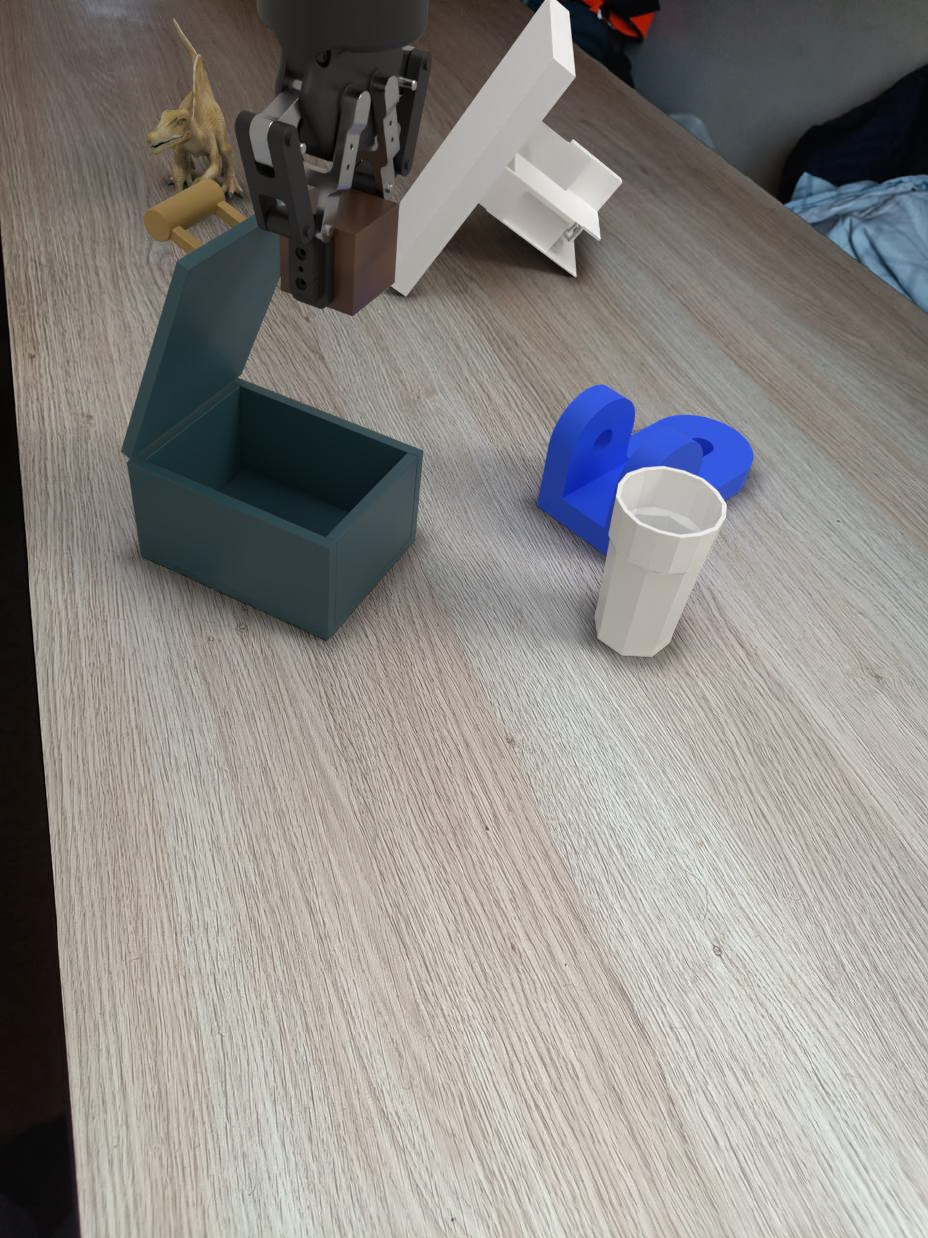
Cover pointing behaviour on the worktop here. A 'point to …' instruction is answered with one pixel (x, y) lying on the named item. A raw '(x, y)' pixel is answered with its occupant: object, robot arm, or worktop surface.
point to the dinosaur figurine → (195, 132)
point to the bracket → (628, 458)
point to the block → (357, 249)
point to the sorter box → (277, 504)
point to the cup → (655, 556)
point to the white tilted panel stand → (509, 161)
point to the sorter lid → (202, 310)
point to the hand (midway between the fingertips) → (337, 281)
